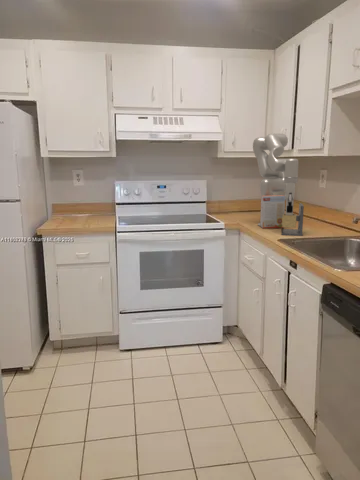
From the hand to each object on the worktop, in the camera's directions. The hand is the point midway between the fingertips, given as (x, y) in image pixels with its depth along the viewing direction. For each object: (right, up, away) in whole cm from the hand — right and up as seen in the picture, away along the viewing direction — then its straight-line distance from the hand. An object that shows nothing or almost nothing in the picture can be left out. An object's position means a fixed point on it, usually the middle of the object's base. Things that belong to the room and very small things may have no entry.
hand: (289, 211), depth 216 cm
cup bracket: (+2, -13, +2) cm, 13 cm away
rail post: (0, -5, +1) cm, 5 cm away
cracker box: (-5, -9, +22) cm, 24 cm away
